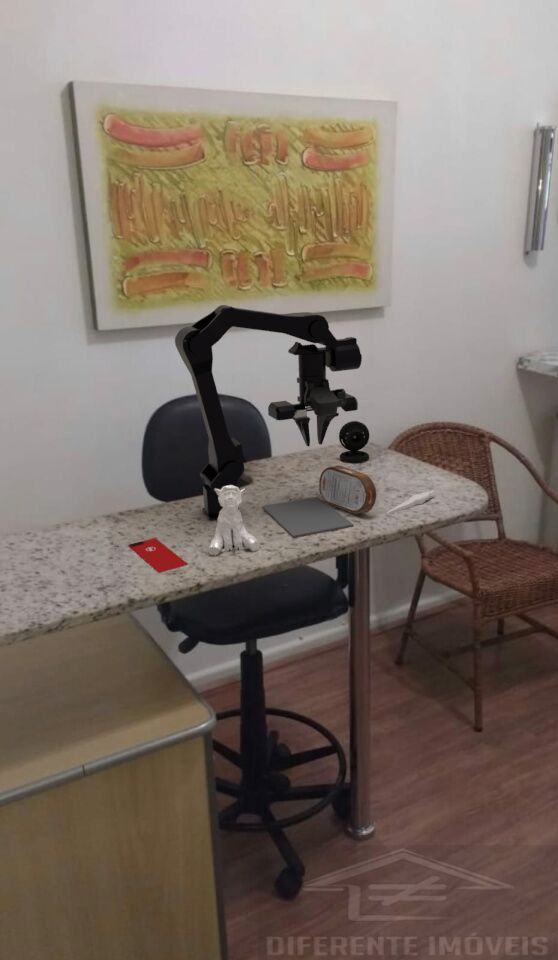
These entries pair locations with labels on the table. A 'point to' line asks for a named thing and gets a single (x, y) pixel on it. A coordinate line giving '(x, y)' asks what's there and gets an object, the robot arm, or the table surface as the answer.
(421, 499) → the white tapered figurine
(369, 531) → the table surface
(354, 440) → the webcam
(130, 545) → the electronic device
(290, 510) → the mat
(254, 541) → the white creature statuette
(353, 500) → the tin
